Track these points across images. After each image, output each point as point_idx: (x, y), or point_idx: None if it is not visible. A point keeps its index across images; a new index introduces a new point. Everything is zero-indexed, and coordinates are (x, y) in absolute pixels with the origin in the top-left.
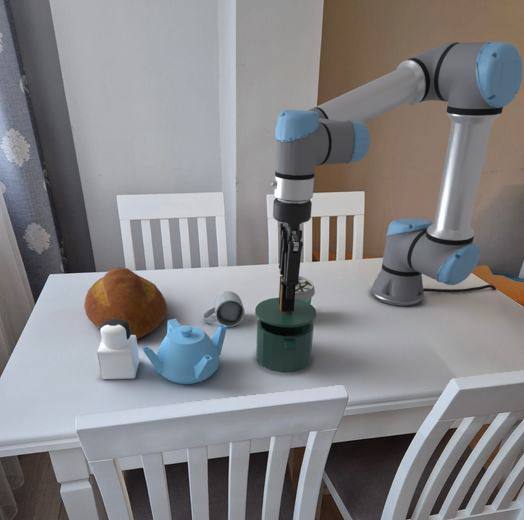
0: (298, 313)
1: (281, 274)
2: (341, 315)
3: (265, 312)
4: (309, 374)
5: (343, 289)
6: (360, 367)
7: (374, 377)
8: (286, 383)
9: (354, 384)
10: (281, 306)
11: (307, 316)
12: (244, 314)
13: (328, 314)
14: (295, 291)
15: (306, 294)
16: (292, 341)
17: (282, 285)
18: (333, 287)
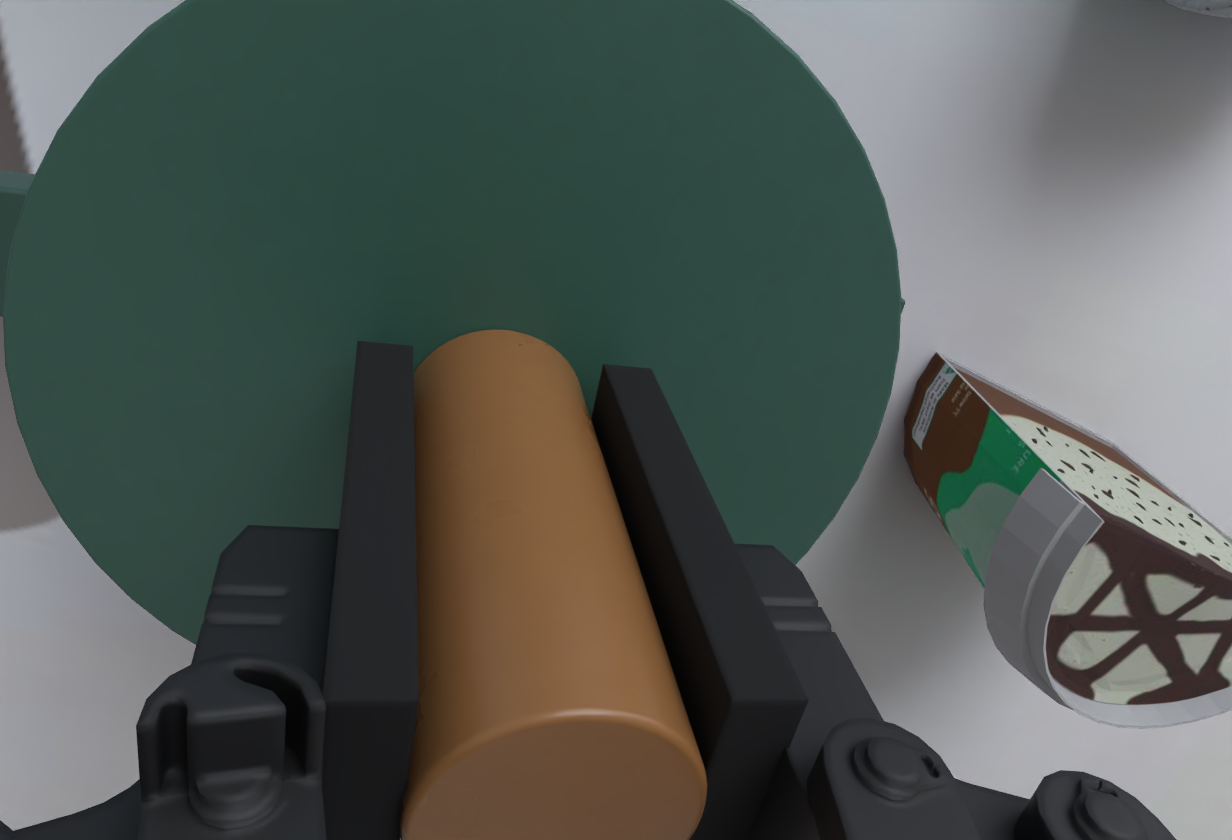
0: None
1: (816, 753)
2: (898, 692)
3: (481, 97)
4: None
5: (1163, 765)
6: None
7: (133, 686)
8: (58, 86)
9: (45, 564)
10: (390, 379)
11: None
12: (1176, 6)
13: (944, 632)
14: (1117, 570)
15: (1016, 640)
16: None
17: (412, 644)
18: (1216, 727)
